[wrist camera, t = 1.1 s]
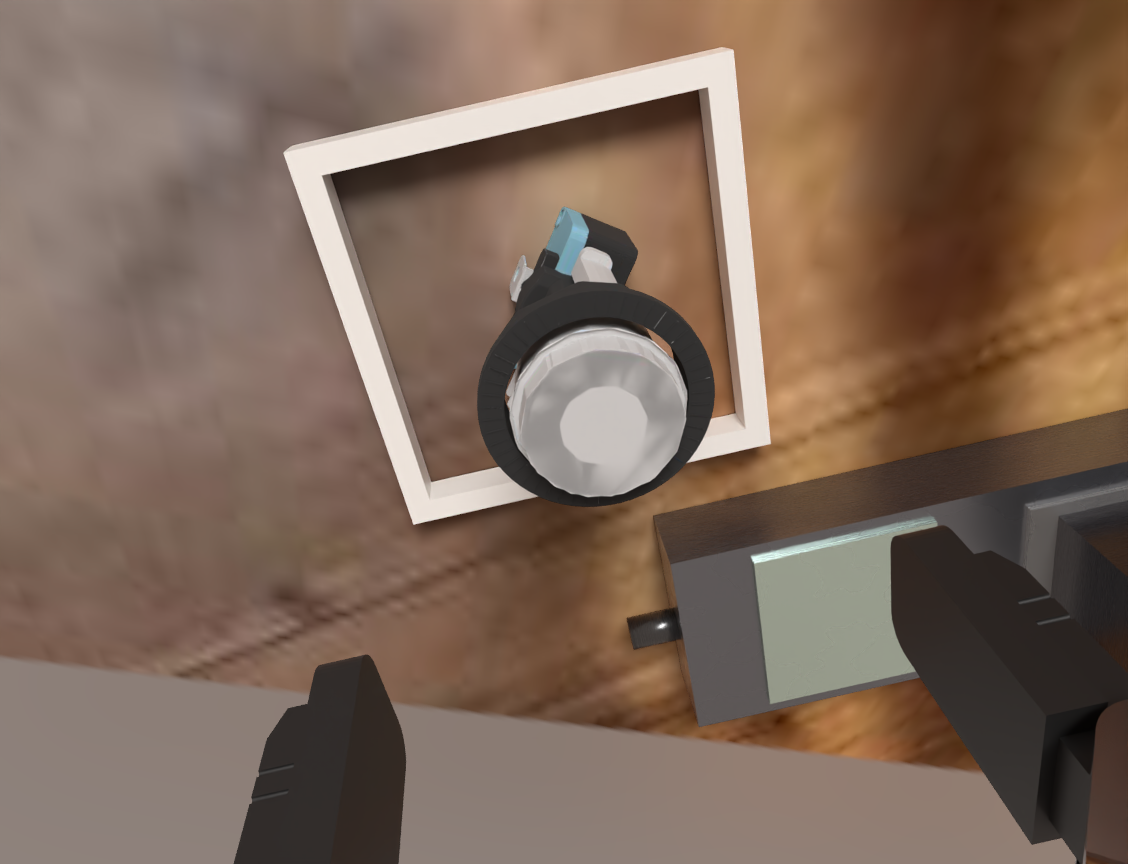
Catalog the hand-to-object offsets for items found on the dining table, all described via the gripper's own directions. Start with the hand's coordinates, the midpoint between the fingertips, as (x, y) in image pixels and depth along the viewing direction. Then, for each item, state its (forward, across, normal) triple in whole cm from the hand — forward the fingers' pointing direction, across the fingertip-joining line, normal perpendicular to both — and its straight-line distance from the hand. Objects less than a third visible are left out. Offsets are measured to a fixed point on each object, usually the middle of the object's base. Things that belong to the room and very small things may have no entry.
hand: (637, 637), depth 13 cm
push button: (+16, 0, 0) cm, 16 cm away
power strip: (+16, -14, +13) cm, 25 cm away
